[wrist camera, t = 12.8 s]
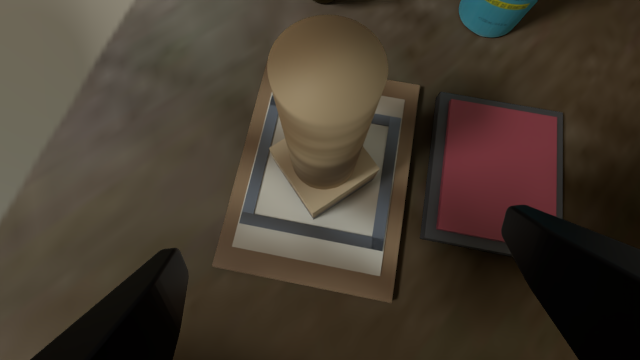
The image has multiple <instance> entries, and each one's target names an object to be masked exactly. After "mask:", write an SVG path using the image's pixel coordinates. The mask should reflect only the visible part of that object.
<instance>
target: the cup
mask: <svg viewBox="0 0 640 360" xmlns="http://www.w3.org/2000/svg"><path fill="white" fill-rule="evenodd" d="M313 1H315V2H318V3H331V2H333V1H335V0H313Z"/></svg>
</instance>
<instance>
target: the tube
mask: <svg viewBox="0 0 640 360" xmlns="http://www.w3.org/2000/svg"><path fill="white" fill-rule="evenodd" d="M537 1H538V0H461V2H460V5H459V15H460V18H461V21H462V22H463V24H464V25H465V26H466V27H467V28H468V29H470V30H471V31H472V32H474V33H476V34H477V35H479V36H483V37H499V36H503V35H505V34H507V33H508V32H510V31H511V30H512V29H513V28H514V27H515V26H516V25H517V24H518V23H519V21H520V20H521V19H522V18H523V17H524V16H525V15H526V14H527V12H528V11H529V10H530V9H531V8H532V7H533V6H534V5H535V3H536V2H537Z"/></svg>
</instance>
